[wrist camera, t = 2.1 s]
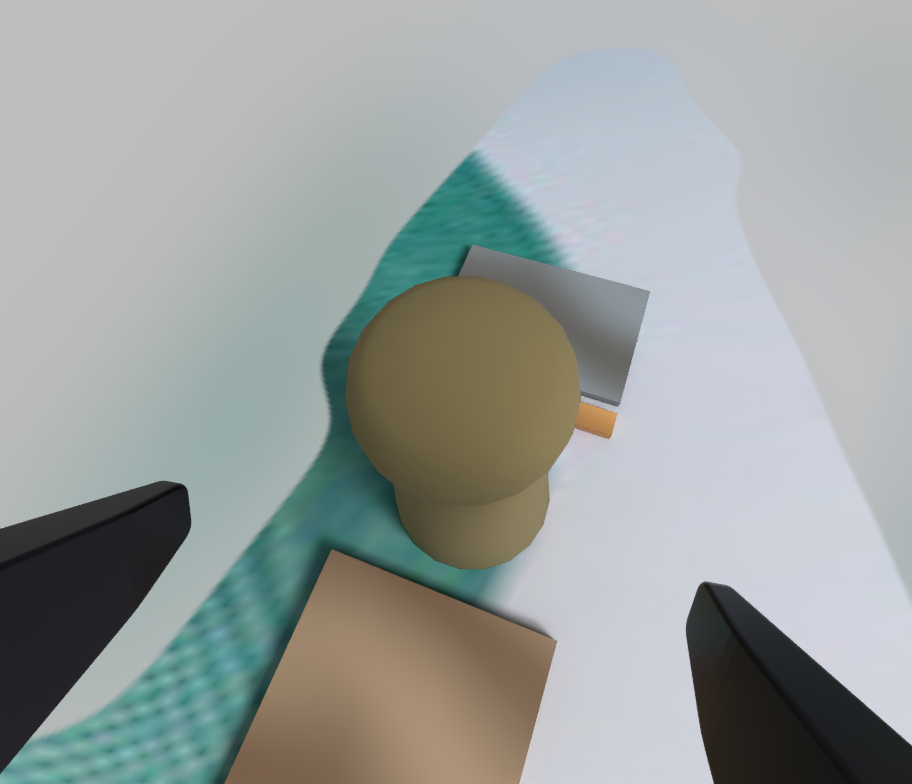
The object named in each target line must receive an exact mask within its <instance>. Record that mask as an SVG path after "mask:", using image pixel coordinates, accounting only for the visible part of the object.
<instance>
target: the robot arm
mask: <svg viewBox="0 0 912 784" xmlns="http://www.w3.org/2000/svg"><path fill="white" fill-rule="evenodd" d="M190 528H191V514H190V506H189V497H188V491H187V488H186V487H185V486H184V485H183V484H180V483H174V482H169V481H159V482H155V483H152V484H149V485H146V486H142V487H139V488H135V489H132V490H129V491H126V492H122V493H119V494H115V495H112V496H109V497H105V498H102V499H99V500H95V501H92V502H89V503H85V504H82V505H78V506H75V507H72V508H68V509H65V510H62V511H58V512H55V513H52V514H48V515H45V516H42V517H38V518H35V519H32V520H28V521H25V522H22V523H18V524H15V525H11V526H9V527H5V528H1V529H0V774H1V773H2V771H3V770H4V769H5V768H6V767H7V765H8V764H9V763H10V762H11V761H12V759H13V758H14V757H15V756H16V755H17V753H18V752H19V751H20V750H21V748H22V747H23V746H24V745H25V744H26V742H27V741H28V740H29V739H30V738H31V736H32V735H33V734H34V733H35V732H36V730H37V729H38V728H39V727H40V726H41V724H42V723H43V722H44V721H45V719H46V718H47V717H48V716H49V715H50V714H51V712H52V711H53V710H54V709H55V707H56V706H57V705H58V704H59V703H60V701H61V700H62V699H63V698H64V697H65V695H66V694H67V693H68V692H69V691H70V689H71V688H72V687H73V686H74V685H75V683H76V682H77V681H78V679H80V677H81V676H82V675H83V674H84V673H85V671H86V670H87V669H88V668H89V666H90V665H91V664H92V663H93V662H94V660H95V659H96V658H97V657H98V656H99V654H100V653H101V652H102V651H103V650H104V648H105V647H106V646H107V645H108V644H109V642H110V641H111V640H112V639H113V637H114V636H115V635H116V634H117V633H118V631H119V630H120V629H121V628H122V627H123V625H124V624H125V623H126V622H127V621H128V619H129V618H130V617H131V616H132V614H133V613H134V612H135V610H136V609H137V608H138V607H139V605H140V604H141V602H142V601H143V600H144V598H145V597H146V596H147V594H148V593H149V591H150V590H151V588H152V587H153V585H154V584H155V582H156V581H157V579H158V578H159V577H160V575H161V574H162V572H163V570H164V569H165V568H166V566H167V565H168V563H169V562H170V561H171V559H172V557H173V556H174V555H175V553H176V551H177V550H178V549H179V547H180V546H181V544H182V543H183V542H184V540H185V539H186V537H187V535H188V533H189V531H190ZM686 638H687V644H688V651H689V658H690V664H691V671H692V678H693V684H694V691H695V698H696V704H697V711H698V717H699V723H700V729H701V734H702V739H703V743H704V747H705V751H706V755H707V759H708V763H709V767H710V771H711V774H712V778H713V782H714V784H912V745H910V744H909V743H908V742H907V741H906V740H905V739H904V738H902V737H901V736H900V735H899V734H898V733H897V732H896V731H895V730H893V729H892V728H891V727H890V726H889V725H888V724H887V723H885V722H884V721H883V720H882V719H881V718H880V717H879V716H877V715H876V714H875V713H874V712H873V711H872V710H871V709H869V708H868V707H867V706H866V705H865V704H864V703H863V702H861V701H860V700H859V699H858V698H857V697H856V696H855V695H853V694H852V693H851V692H850V691H849V690H848V689H847V688H846V687H844V686H843V685H842V684H841V683H840V682H839V681H838V680H836V679H835V678H834V677H833V676H832V675H831V674H830V673H828V672H827V671H826V670H825V669H824V668H823V667H822V666H820V665H819V664H818V663H817V662H816V661H815V660H814V659H812V658H811V657H810V656H809V655H808V654H807V653H806V652H805V651H803V650H802V649H801V648H800V647H799V646H798V645H797V644H795V643H794V642H793V641H792V640H791V639H790V638H789V637H787V636H786V635H785V634H784V633H783V632H782V631H781V630H779V629H778V628H777V627H776V626H775V625H774V624H773V623H771V622H770V621H769V620H768V619H767V618H766V617H765V616H763V615H762V614H761V613H760V612H759V611H758V610H757V609H756V608H754V607H753V606H752V605H751V604H750V603H749V602H748V601H746V600H745V599H744V598H743V597H742V596H741V595H740V594H738V593H737V592H736V591H735V590H734V589H733V588H731V587H730V586H727V585H723V584H717V583H712V582H703V583H701V584H700V585H699V587H698V589H697V592H696V595H695V598H694V601H693V604H692V607H691V609H690V612H689V615H688V618H687V623H686Z"/></svg>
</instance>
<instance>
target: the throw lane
mask: <svg viewBox="0 0 912 784" xmlns="http://www.w3.org/2000/svg"><path fill="white" fill-rule="evenodd" d="M458 276H479V277H483V278H487V279H491V280H495V281H500V282H504V283H507V284H509V285H510V286H512V287H514V288H516V289H518V290H519V291H521V292H523V293H525V294H527V295H528V296H530V297H532V298H534V299H535V300H536V301H538V302H539V303H540V304H541V305H542V306H543V307H544V308H545V309H546V310H547V311H548V312H549V313H550V314H551V315H552V316H553V317H554V318H555V319H556V320H557V322H558V323H559V324H560V325H561V326H562V327H563V329H564V331H565V334H566V336H567V338H568V340H569V342H570V344H571V346H572V348H573V350H574V352H575V354H576V359H577V365H578V374H579V383H580V393H581V395H582V396H585V397H589V398H592V399H595V400H598V401H601V402H605V403H608V404H611V405H614V406H618V405H619V404H620V401H621V398H622V394H623V390H624V387H625V383H626V379H627V375H628V372H629V368H630V364H631V360H632V357H633V353H634V349H635V346H636V342H637V338H638V334H639V331H640V327H641V323H642V319H643V316H644V312H645V308H646V304H647V301H648V297H649V293H650V291H647V290H643V289H640V288H636V287H632V286H628V285H624V284H621V283H617V282H613V281H609V280H605V279H601V278H598V277H594V276H590V275H586V274H582V273H579V272H575V271H571V270H567V269H563V268H560V267H556V266H552V265H548V264H544V263H540V262H537V261H533V260H529V259H525V258H521V257H518V256H514V255H510V254H506V253H502V252H498V251H495V250H491V249H487V248H483V247H479V246H476V245H472V247H471V249H470V251H469V253H468V256H467V258H466V260H465V262H464V264H463V267H462V269H461V271H460V273H459V275H458ZM616 416H617V413H614V412H611V411H608V410H605V409H601V408H598V407H595V406H592V405H589V404H585V403H582V402H581V403H580V407H579V411H578V414H577V418H576V422H575V426H574V428H577V429H580V430H583V431H586V432H589V433H593V434H596V435H599V436H602V437H605V438H608V439H609V438H610V437H611V435H612V431H613V428H614V424H615V420H616ZM556 643H557V641H556V640H554V639H551V638H549V637H546V636H544V635H542V634H539V633H537V632H534V631H532V630H529V629H527V628H524V627H522V626H519V625H517V624H515V623H512V622H510V621H507V620H505V619H502V618H500V617H497V616H495V615H492V614H490V613H488V612H485V611H483V610H480V609H478V608H475V607H473V606H470V605H468V604H465V603H463V602H461V601H458V600H456V599H453V598H451V597H448V596H446V595H443V594H441V593H438V592H436V591H434V590H431V589H429V588H426V587H424V586H421V585H419V584H416V583H414V582H411V581H409V580H407V579H404V578H402V577H399V576H397V575H394V574H392V573H389V572H387V571H384V570H382V569H380V568H377V567H375V566H372V565H370V564H367V563H365V562H362V561H360V560H357V559H355V558H353V557H350V556H348V555H345V554H343V553H340V552H338V551H335V550H333V549H332V550H331V552H330V554H329V556H328V558H327V560H326V563H325V565H324V567H323V569H322V571H321V574H320V576H319V578H318V580H317V582H316V585H315V587H314V589H313V591H312V593H311V595H310V598H309V600H308V602H307V604H306V606H305V609H304V611H303V613H302V615H301V617H300V619H299V622H298V624H297V626H296V628H295V630H294V633H293V635H292V637H291V639H290V641H289V643H288V646H287V648H286V650H285V652H284V654H283V657H282V659H281V661H280V663H279V665H278V668H277V670H276V672H275V674H274V676H273V678H272V681H271V683H270V685H269V687H268V689H267V692H266V694H265V696H264V698H263V700H262V702H261V705H260V707H259V709H258V711H257V713H256V716H255V718H254V720H253V722H252V724H251V726H250V729H249V731H248V733H247V735H246V737H245V740H244V742H243V744H242V746H241V748H240V750H239V753H238V755H237V757H236V759H235V761H234V764H233V766H232V768H231V770H230V772H229V775H228V777H227V779H226V781H225V783H224V784H519V782H520V778H521V774H522V770H523V767H524V763H525V759H526V755H527V752H528V748H529V744H530V741H531V737H532V733H533V729H534V726H535V722H536V718H537V714H538V711H539V707H540V703H541V699H542V696H543V692H544V688H545V684H546V681H547V677H548V673H549V669H550V666H551V662H552V658H553V655H554V651H555V647H556Z"/></svg>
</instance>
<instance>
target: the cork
mask: <svg viewBox="0 0 912 784" xmlns="http://www.w3.org/2000/svg"><path fill="white" fill-rule="evenodd" d="M345 400H346V407H347V411H348V415H349V419H350V423H351V427H352V432H353V436H354V437H355V439H356V440H357V442H358V443H359V445H360V446H361V448H362V449H363V451H364V452H365V454H366V455H367V457H368V458H369V460H370V461H371V463H372V464H373V466H374V467H375V468H376V470H377V471H378V472H379V473H380V474H381V475H382V476H384V477H385V478H386V479H388V480H389V481H390V482H392V483H393V484H394V492H395V499H396V504H397V508H398V511H399V515H400V519H401V523H402V525H403V527H404V528H405V530H406V531H407V533H408V534H409V536H410V537H411V539H412V540H413V542H414V544H415V545H416V546H417V547H419V548H420V549H421V550H422V551H424V552H425V553H426V554H428V555H429V556H430V557H431V558H433V559H434V560H435V561H438V562H441V563H444V564H447V565H449V566H452V567H455V568H458V569H487V568H490V567H493V566H496V565H499V564H502V563H505V562H508V561H510V560H511V559H512V558H514V557H515V556H516V555H518V554H519V553H520V552H522V551H523V550H524V549H525V548H527V547H528V546H529V545H530V544H531V542H532V541H533V539H534V538H535V536H536V535H537V533H538V532H539V530H540V529H541V527H542V526H543V524H544V520H545V516H546V512H547V508H548V504H549V483H548V471H549V470H550V469H551V467H552V466H553V464H554V463H555V461H556V460H557V458H558V457H559V455H560V454H561V452H562V451H563V449H564V448H565V446H566V445H567V444H568V442H569V440H570V438H571V436H572V434H573V430H574V426H575V422H576V418H577V414H578V411H579V407H580V403H581V393H580V383H579V374H578V365H577V359H576V354H575V352H574V350H573V348H572V346H571V344H570V342H569V340H568V338H567V336H566V334H565V331H564V329H563V327H562V326H561V325H560V324H559V323H558V322H557V320H556V319H555V318H554V317H553V316H552V315H551V314H550V313H549V312H548V311H547V310H546V309H545V308H544V307H543V306H542V305H541V304H540V303H539V302H538V301H536V300H535V299H534V298H532V297H530V296H528V295H527V294H525V293H523V292H521V291H519V290H518V289H516V288H514V287H512V286H510V285H509V284H507V283H504V282H500V281H495V280H491V279H487V278H483V277H479V276H452V277H442V278H439V279H435V280H432V281H428V282H425V283H421V284H418V285H415V286H413V287H412V288H410V289H408V290H407V291H405V292H403V293H402V294H400V295H398V296H397V297H395V298H393V299H392V300H390V301H389V302H388V303H387V304H386V305H385V306H384V307H383V308H382V309H381V311H380V312H379V313H378V314H377V315H376V316H375V317H374V318H373V319H372V320H371V321H370V322H369V324H368V325H367V326H366V327H365V328H364V329H363V330H362V332H361V335H360V337H359V339H358V341H357V343H356V345H355V347H354V349H353V352H352V354H351V356H350V358H349V363H348V372H347V381H346V390H345Z"/></svg>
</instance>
